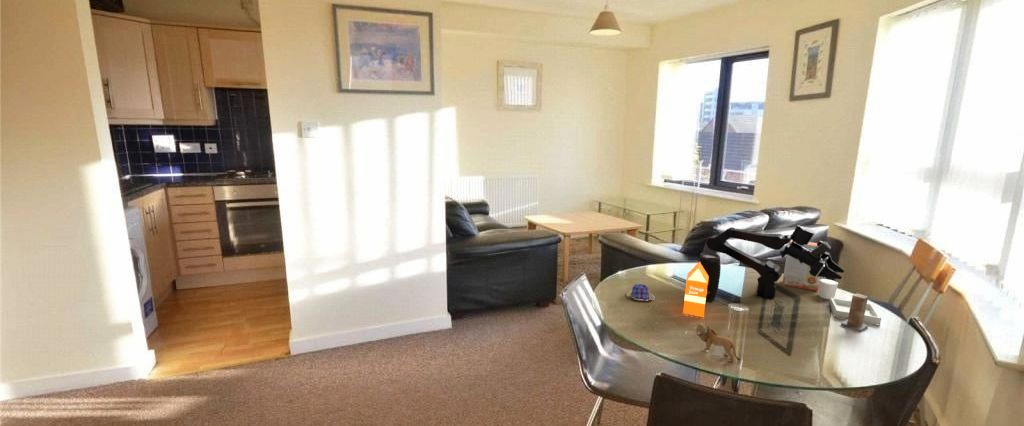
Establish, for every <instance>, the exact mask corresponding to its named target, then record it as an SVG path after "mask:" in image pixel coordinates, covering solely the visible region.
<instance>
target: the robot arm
mask: <svg viewBox="0 0 1024 426" xmlns="http://www.w3.org/2000/svg"><path fill="white" fill-rule="evenodd" d="M815 234H816V232H815V230H813V229H812V228H810V227H806V226H802V225H799V224H797V225H796V226H795V229H794V231H793V233H791V234H785V235H784V234H781V233H773V232H772V233H771V232H770V233H761V232H755V231H751V230H750V231H749V230H746V229H740V228H735V227H732V226H731V227H729V228H727V229H725V230H724V231H722V233H720V234H714V235H713V236H711V237H709V238H707V240H706V248H707V249H709V250H711V251H714V252H716V253H721V254H725V255H726V256H729V257H731V258H732V259H734V260H736V261H738V262H740V263H742V265H745V266H747V267H748V268H751V269H752V270H754V271H756V272H757V274H758V275H759V277H758V278H757V286H756V290H755V296H756V297H758V298H763V299H769V300H774V298H775V297H776V290H777V287H776V282H777V281H779V279H780V278H781V277H782V275H783V270H782V268H781V267H780V266H779V264H776V263H774V262H772V261H771V260H768V261H766V262H763V261H761V260H759V259H757V258H755V257H754V256H751V255H750V254H748V253H746V252H744V251H742V250H741V249H738V248H737V247H735V246H733V245H731V243H729V242H728V240H729V239H730V238H731V239H736V240H737V239H738V240H741V241H742V240H743V241H745V242H746V241H747V242H752V243H757V244H760V245H763V246H765V248H768V249H771V250H775V251H778V250H780V251H779V253H780V255H781V258H783V259H784V258H785V256H787V255H789V256H791V257H793V258H795V259H798V260H799V261H800V262H799V263H801V264H802V263H804V264H806V265H808V266H810V268H811V269H810V271H809V272H810V274H811V275H813V276H814V277H816V275H817V274H818V273H819V274H818V275H817V277H820V278H826V279H836V280H841V279H842V278H843V277H842V276H841V274H844V273H845V270H844V269H843V268H842V267H841V266H839V264H837V263H836V262H835V261H833V258H832V255H831V254H830V252H828V251H830V250H831V249H832V246H831V245H830V244H829V242H827V241H825V240H824V241H822V240H819V241H818V242H816V243H817V247H816V248H814V249H811V248H810V249H809V248H808V249H806V248H804V247H802V246H803V245H804V244H805V245H808V243H809V242H811V240H812V239H813V237H814V235H815ZM791 240H793V241H792V243H791V244H790V245H788V244H789V242H790V241H791ZM794 242H795V243H794ZM796 243H797V244H796ZM798 244H799V245H798ZM800 245H802V246H800ZM784 246H785V247H784ZM783 247H784V248H783ZM782 248H783V250H781V249H782ZM839 273H840V274H839Z"/></svg>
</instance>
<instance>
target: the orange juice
mask: <svg viewBox="0 0 1024 426" xmlns="http://www.w3.org/2000/svg"><path fill="white" fill-rule="evenodd" d="M708 278H709V276H708V275H707V273H706V271H705V270H704V268H703V266H702V265H701V263H700V262H699V263H698V262H697V263H696V264H695V265H694V266H693V268H691V269H690V270H689V271H688V273H687V277H686V281H685V292H684V301H683V309H682V310H683V311H682V314H683V313H685V314H690V315H695V316H700V317H703V318H705V310H706V309H705V307H706V301H707V300H706V294H707V285H708Z"/></svg>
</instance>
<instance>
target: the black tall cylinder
mask: <svg viewBox="0 0 1024 426" xmlns="http://www.w3.org/2000/svg"><path fill="white" fill-rule="evenodd" d="M699 262H700V263H701V265H702V266H703V268H704V270H705V271H706V273H707V275H708V276H709V278H708V285H707V294H706V301H709V302H710V301H711V302H710V303H713V302H712V301H714V302H715V299H716V297H717V293H718V289H719V286H720V285H719V284H720V277H721V270H722V269H721V257H720V255H719V254H717V253H715V252H711V253H705V252H701V253H700V254H699V258H698V261H697V264H698V263H699Z"/></svg>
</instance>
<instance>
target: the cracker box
mask: <svg viewBox="0 0 1024 426" xmlns="http://www.w3.org/2000/svg"><path fill="white" fill-rule="evenodd" d="M792 241H793V240H791V241H790V242H789V243H788V244H787V245H790V244H791V243H792ZM794 243H795V242H794ZM817 243H818V242H811V241H810V242H809V243H808V245H805V244H804V245H803V246H802V245H800V246H802V247H804V248H806V249H808V248H809V249H810V248H811V249H814V248H816V247H817ZM796 244H797V243H796ZM798 245H799V244H798ZM785 256H786V258H785V264H784V270H783V277H782V285H783V286H788V287H793V288H799V289H803V290H804V289H805V290H809V291H815V292H818V289H819V279H821V277H817V275H818V274H819V273H818V274H817V275H816V277H814V276H813V275H811V274H810V272H809V271H810V269H811V268H810V266H808V265H806V264H804V263H802V264H801V263H799V262H800V261H799V260H798V259H795V258H793V257H791V256H789V255H787V254H786V255H785Z"/></svg>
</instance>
